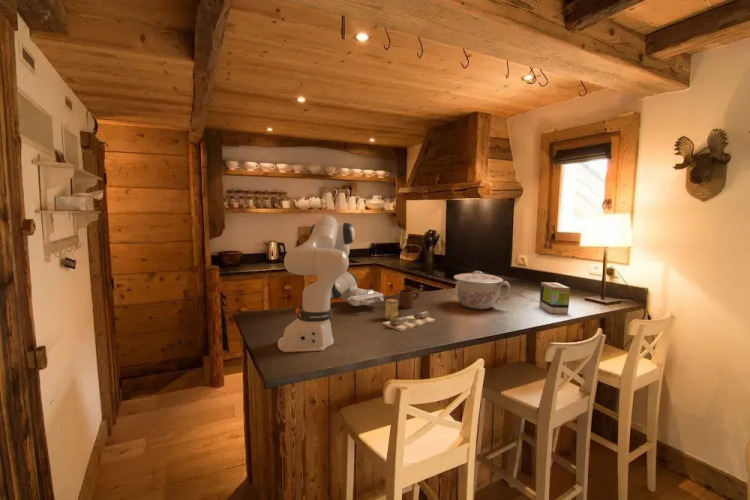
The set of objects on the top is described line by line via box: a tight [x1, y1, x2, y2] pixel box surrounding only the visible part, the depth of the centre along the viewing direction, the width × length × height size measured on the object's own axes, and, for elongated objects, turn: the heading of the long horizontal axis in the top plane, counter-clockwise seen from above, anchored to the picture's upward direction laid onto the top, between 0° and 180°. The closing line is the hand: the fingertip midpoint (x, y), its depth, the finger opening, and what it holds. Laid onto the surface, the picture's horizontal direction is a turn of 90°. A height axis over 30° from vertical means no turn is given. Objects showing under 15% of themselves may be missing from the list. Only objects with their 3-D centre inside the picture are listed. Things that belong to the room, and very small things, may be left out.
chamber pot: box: [453, 270, 512, 311], centre depth 212 cm, size 28×28×21 cm
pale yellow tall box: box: [384, 298, 399, 321], centre depth 187 cm, size 4×4×10 cm
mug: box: [398, 288, 420, 310], centre depth 209 cm, size 12×8×9 cm, turn 114°
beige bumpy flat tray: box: [382, 310, 436, 332], centre depth 181 cm, size 24×12×4 cm, turn 130°
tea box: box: [538, 281, 571, 315], centre depth 208 cm, size 15×10×15 cm
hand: (375, 302), depth 196 cm, fingers open, 8 cm apart
